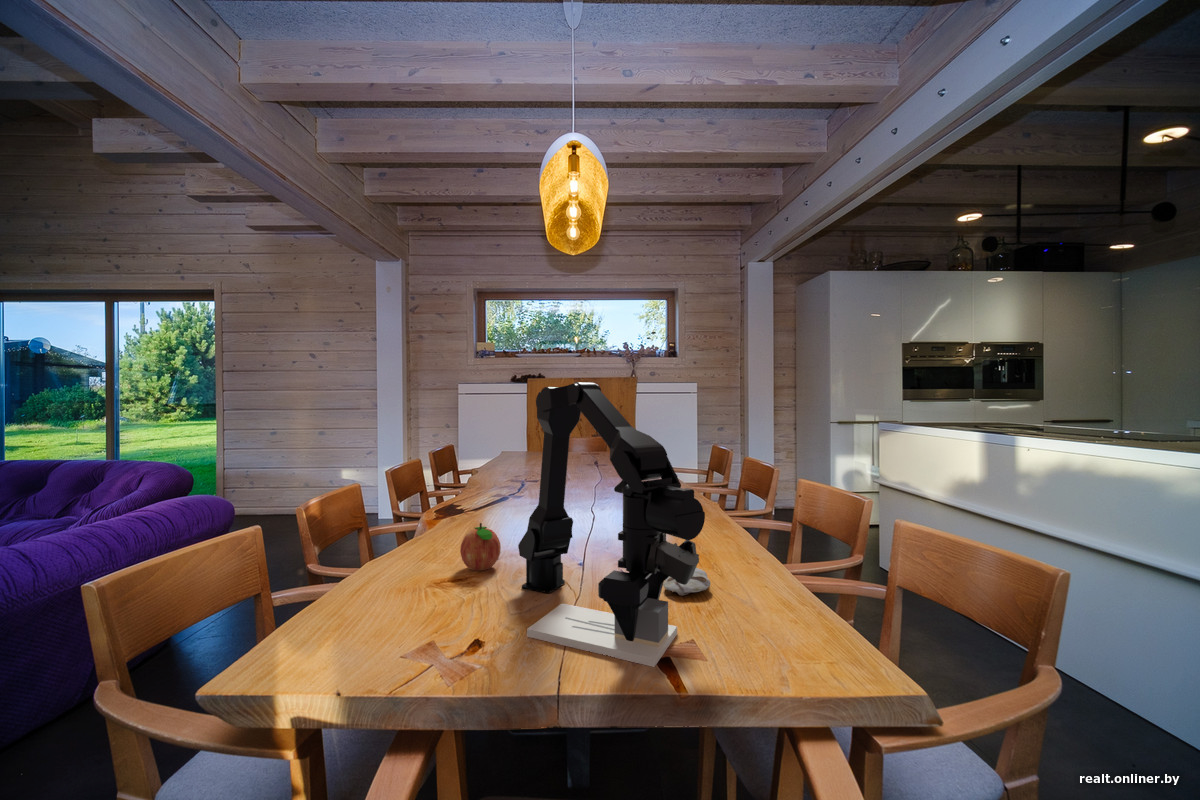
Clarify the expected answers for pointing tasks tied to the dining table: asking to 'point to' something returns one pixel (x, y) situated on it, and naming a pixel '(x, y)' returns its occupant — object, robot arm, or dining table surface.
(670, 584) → the stone
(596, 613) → the board
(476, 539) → the fruit
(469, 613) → the dining table surface
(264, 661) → the dining table surface
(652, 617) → the block
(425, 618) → the dining table surface
